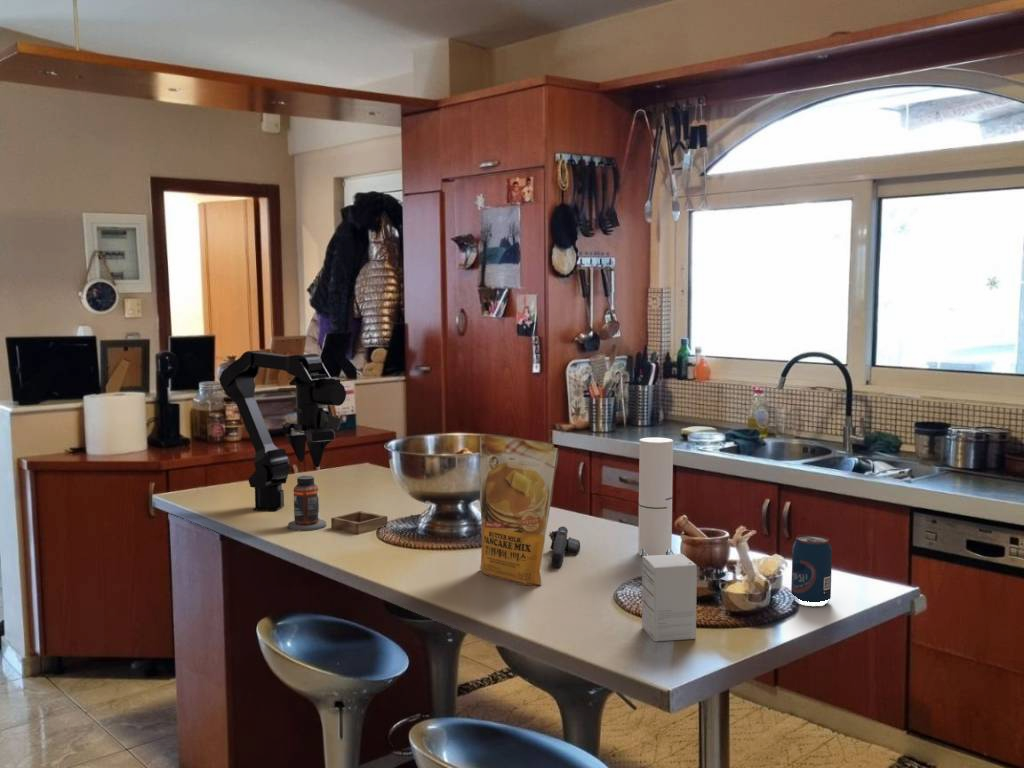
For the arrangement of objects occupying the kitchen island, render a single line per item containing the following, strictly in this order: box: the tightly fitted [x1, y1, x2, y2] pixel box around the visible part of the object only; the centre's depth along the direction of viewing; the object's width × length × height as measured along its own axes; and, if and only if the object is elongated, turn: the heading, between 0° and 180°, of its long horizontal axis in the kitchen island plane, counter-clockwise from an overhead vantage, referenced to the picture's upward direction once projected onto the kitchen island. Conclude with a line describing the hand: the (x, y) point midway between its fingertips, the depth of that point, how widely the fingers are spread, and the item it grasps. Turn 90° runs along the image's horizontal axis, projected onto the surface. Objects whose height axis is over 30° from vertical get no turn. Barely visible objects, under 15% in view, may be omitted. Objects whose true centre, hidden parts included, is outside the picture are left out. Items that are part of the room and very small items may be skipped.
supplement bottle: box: [293, 475, 320, 525], centre depth 238 cm, size 6×6×11 cm
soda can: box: [790, 534, 833, 602], centre depth 180 cm, size 7×7×12 cm
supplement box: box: [641, 553, 698, 643], centre depth 164 cm, size 7×7×13 cm
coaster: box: [287, 518, 327, 532], centre depth 239 cm, size 9×9×1 cm
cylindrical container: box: [637, 437, 674, 556], centre depth 213 cm, size 7×7×25 cm
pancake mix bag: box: [478, 434, 560, 586], centre depth 196 cm, size 7×19×28 cm, turn 48°
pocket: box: [330, 510, 389, 535], centre depth 238 cm, size 10×10×2 cm
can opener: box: [548, 526, 581, 570], centre depth 211 cm, size 18×7×6 cm, turn 169°
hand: (309, 464), depth 250 cm, fingers open, 9 cm apart
